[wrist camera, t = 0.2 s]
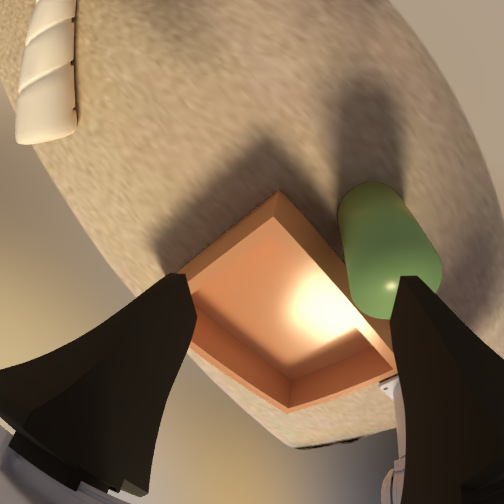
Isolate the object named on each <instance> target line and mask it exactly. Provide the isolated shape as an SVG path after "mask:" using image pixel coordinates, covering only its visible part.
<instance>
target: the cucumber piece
mask: <svg viewBox="0 0 504 504" xmlns="http://www.w3.org/2000/svg"><path fill="white" fill-rule="evenodd" d="M337 217H338V224H339V229H340V235H341V240H342V245H343V251H344V257H345V263H346V269H347V275H348V281H349V288H350V294H351V298H352V300H353V302H354V304H355V305H356V306H357V308H358V309H359V310H360V311H362V312H363V313H365V314H367V315H368V316H371V317H374V318H378V319H390V318H391V314H392V310H393V306H394V302H395V298H396V294H397V289H398V285H399V280H400V276H418V277H419V278H420V279H421V280H422V281H424V282H425V283H426V284H427V286H428V287H429V288H430V289H431V290H432V291H433V292H434V293H436V292H437V290H438V288H439V286H440V283H441V280H442V274H443V268H442V262H441V259H440V257H439V255H438V254H437V252H436V250H435V249H434V247H433V245H432V244H431V242H430V241H429V239H428V238H427V236H426V234H425V233H424V231H423V230H422V228H421V227H420V225H419V224H418V222H417V221H416V219H415V218H414V216H413V215H412V213H411V212H410V211H409V209H408V208H407V206H406V205H405V204H404V202H403V201H402V199H401V198H400V197H399V195H398V194H397V193H396V192H395V191H394V190H393V189H392V188H391V187H389V186H387V185H385V184H382V183H377V182H368V183H363V184H360V185H358V186H356V187H354V188H353V189H351V190H350V191H349V192H348V193H347V194H346V195H345V196H344V197H343V199H342V201H341V203H340V205H339V208H338V214H337Z"/></svg>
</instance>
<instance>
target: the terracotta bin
mask: <svg viewBox="0 0 504 504" xmlns="http://www.w3.org/2000/svg"><path fill="white" fill-rule="evenodd" d="M177 274H186V278H187V282H188V285H189V289H190V292H191V296H192V300H193V303H194V306H195V310H196V313H197V317H198V318H197V322H196V326H195V329H194V333H193V337H192V340H191V343H190V345H189V348H191V349H192V350H193V351H195V352H196V353H197V354H199V355H200V356H201V357H203V358H204V359H205V360H207V361H208V362H209V363H211V364H212V365H214V366H215V367H216V368H218V369H219V370H221V371H222V372H223V373H225V374H226V375H228V376H229V377H231V378H232V379H234V380H235V381H237V382H238V383H240V384H241V385H242V386H244V387H245V388H247V389H249V390H250V391H252V392H253V393H255V394H256V395H258V396H259V397H261V398H262V399H264V400H266V401H267V402H269V403H270V404H272V405H274V406H275V407H277V408H279V409H280V410H282V411H283V412H285V413H291V412H294V411H298V410H301V409H304V408H308V407H311V406H314V405H317V404H320V403H323V402H326V401H329V400H332V399H335V398H338V397H340V396H343V395H346V394H349V393H351V392H354V391H357V390H359V389H362V388H364V387H367V386H369V385H372V384H374V383H376V382H379V381H381V380H384V379H386V378H388V377H390V376H393V375H395V374H397V373H398V372H397V367H396V362H395V358H394V353H393V348H392V340H391V331H390V322H389V320H388V319H378V318H374V317H371V316H368V315H367V314H365V313H363V312H362V311H360V310H359V309H358V308H357V306H356V305H355V304H354V302H353V300H352V298H351V294H350V288H349V281H348V275H347V269H346V265H345V264H344V263H343V261H342V260H341V259H340V258H339V256H338V255H337V254H336V253H335V252H334V250H333V249H332V248H331V247H330V246H329V244H328V243H327V242H326V241H325V240H324V239H323V237H322V236H321V235H320V234H319V233H318V231H317V230H316V229H315V228H314V227H313V226H312V225H311V223H310V222H309V221H308V220H307V219H306V218H305V216H304V215H303V214H302V213H301V212H300V211H299V210H298V208H297V207H296V206H295V205H294V204H293V203H292V202H291V201H290V200H289V198H288V197H287V196H286V195H285V194H284V193H283V192H282V191H281V190H280V189H279V190H278V191H276V192H275V193H274V194H273V195H271V196H270V197H269V198H267V199H266V200H265V201H264V202H262V203H261V204H260V205H259V206H257V207H256V208H255V209H254V210H252V211H251V212H250V213H249V214H247V215H246V216H245V217H244V218H242V219H241V220H240V221H239V222H237V223H236V224H235V225H234V226H233V227H231V228H230V229H229V230H228V231H226V232H225V233H224V234H223V235H221V236H220V237H219V238H218V239H217V240H215V241H214V242H213V243H212V244H211V245H209V246H208V247H207V248H206V249H204V250H203V251H202V252H201V253H200V254H198V255H197V256H196V257H195V258H194V259H192V260H191V261H190V262H189V263H188V264H186V265H185V266H184V267H183V268H182V269H180V270H179V271H178V272H177Z"/></svg>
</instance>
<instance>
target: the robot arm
mask: <svg viewBox="0 0 504 504" xmlns="http://www.w3.org/2000/svg"><path fill="white" fill-rule="evenodd" d="M197 318H198V317H197V313H196V310H195V306H194V303H193V300H192V296H191V292H190V289H189V285H188V282H187V278H186V274H177V273H170V274H168V275H166V276H165V277H163V278H162V279H161V280H159V281H158V282H157V283H155V284H154V285H153V286H151V287H150V288H149V289H147V290H146V291H145V292H143V293H142V294H141V295H140V296H138V297H137V298H136V299H134V300H133V301H132V302H130V303H129V304H128V305H127V306H125V307H124V308H122V309H121V310H120V311H118V312H117V313H116V314H114V315H113V316H111V317H110V318H109V319H107V320H106V321H104V322H103V323H102V324H100V325H99V326H97V327H96V328H94V329H92V330H91V331H89V332H87V333H86V334H84V335H82V336H81V337H79V338H77V339H76V340H74V341H72V342H70V343H68V344H66V345H64V346H62V347H60V348H58V349H56V350H54V351H52V352H50V353H48V354H45V355H43V356H41V357H38V358H35V359H33V360H30V361H28V362H25V363H22V364H19V365H15V366H12V367H8V368H5V369H1V370H0V417H1V418H2V419H3V420H4V421H5V422H6V423H8V424H9V425H10V426H11V427H12V428H13V429H14V430H16V432H15V434H14V436H13V435H12V434H10V433H9V432H8V431H7V430H5V429H4V428H3V427H2V426H1V425H0V504H129V503H127V502H125V501H122V500H120V499H118V498H115V497H113V496H111V495H109V494H107V492H108V490H109V489H110V490H112V491H114V492H117V493H119V492H120V490H123V491H126V492H128V493H130V494H133V495H136V496H138V497H142V496H145V495H146V494H148V492H149V482H150V474H151V465H152V460H153V455H154V449H155V443H156V439H157V435H158V431H159V426H160V422H161V419H162V415H163V411H164V408H165V404H166V401H167V398H168V395H169V392H170V390H171V388H172V385H173V383H174V381H175V378H176V376H177V374H178V371H179V369H180V367H181V364H182V362H183V360H184V357H185V355H186V353H187V350H188V348H189V345H190V343H191V340H192V337H193V333H194V329H195V326H196V322H197ZM389 322H390V331H391V340H392V348H393V353H394V358H395V362H396V367H397V372H398V375H397V376H395V377H393V378H391V379H388V380H386V381H384V382H381V383H380V384H379V388H380V389H381V390H382V391H383V392H384V393H385V394H386V395H387V396H388V397H389V398H391V399H392V400H393V401H394V407H395V416H396V425H397V436H398V447H399V448H398V449H399V460H396V461H394V469H391V470H390V471H389V472H388V474H387V476H386V477H385V478H384V481H383V484H382V492H381V502H382V504H504V359H503V358H501V357H500V356H499V355H498V354H497V353H496V352H494V351H493V350H492V349H491V348H490V347H489V346H487V345H486V344H485V343H484V342H483V341H482V340H481V339H480V338H479V337H477V336H476V335H475V334H474V333H473V332H472V331H471V330H470V329H469V328H468V327H467V326H466V325H465V324H464V323H463V322H462V321H461V320H460V319H459V318H458V317H457V316H456V315H455V314H454V313H453V312H452V311H451V310H450V309H449V307H448V306H447V305H446V304H445V303H444V302H443V301H442V300H441V299H440V298H439V297H438V296H437V295H436V294H435V293H434V292H433V291H432V290H431V289H430V288H429V287H428V286H427V284H426V283H425V282H424V281H422V280H421V279H420V278H419V277H418V276H400V280H399V285H398V289H397V294H396V298H395V302H394V306H393V310H392V314H391V318H390V321H389Z"/></svg>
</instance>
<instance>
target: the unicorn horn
mask: <svg viewBox="0 0 504 504" xmlns="http://www.w3.org/2000/svg"><path fill="white" fill-rule="evenodd" d="M75 9H76V0H36V5H35V7H34V10H33V13H32V17H31V21H30V24H29V29H28V33H27V38H26V42H25V44H26V48H25V50H24V53H23V59H22V65H21V71H20V78H19V87H18V91H19V93H20V95H19V97H18V98H17V109H16V128H15V135H16V141H17V142H18V143H19V144H25V145H28V144H36V143H42V142H47V141H51V140H55V139H59V138H62V137H65V136H68V135H70V134H72V133H74V132H75V130H76V128H77V116H76V110H73V108H74V107H75V90H74V65H71V61H72V60H73V59H74V23H72V18H73V17H75Z"/></svg>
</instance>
